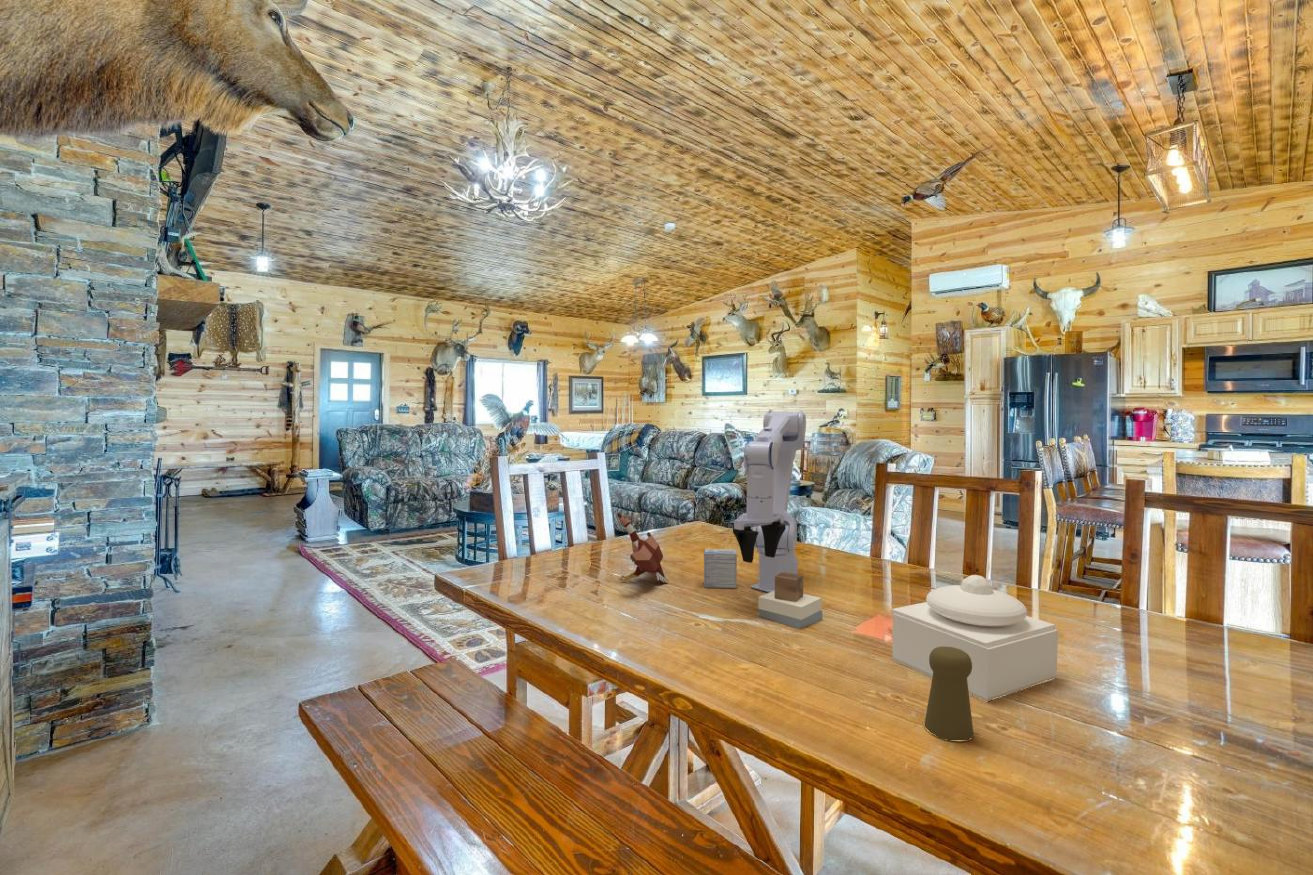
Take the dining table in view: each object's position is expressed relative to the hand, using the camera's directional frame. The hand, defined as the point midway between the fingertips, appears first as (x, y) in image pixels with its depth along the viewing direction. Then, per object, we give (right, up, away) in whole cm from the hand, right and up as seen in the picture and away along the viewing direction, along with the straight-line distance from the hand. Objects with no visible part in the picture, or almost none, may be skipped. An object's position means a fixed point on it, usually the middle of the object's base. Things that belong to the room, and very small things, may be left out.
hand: (759, 559), depth 134 cm
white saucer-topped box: (+30, -12, -31) cm, 45 cm away
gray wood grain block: (-7, -10, +16) cm, 20 cm away
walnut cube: (+5, -7, -7) cm, 11 cm away
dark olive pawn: (+17, -13, -51) cm, 55 cm away
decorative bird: (-26, -10, +19) cm, 34 cm away
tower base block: (+5, -12, -6) cm, 14 cm away
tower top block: (+5, -9, -7) cm, 12 cm away
